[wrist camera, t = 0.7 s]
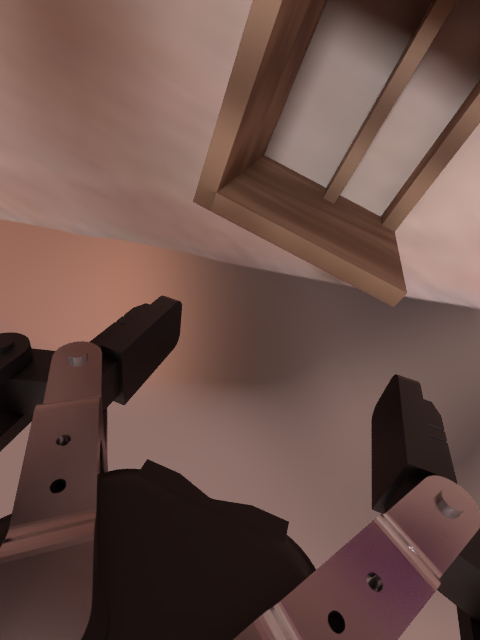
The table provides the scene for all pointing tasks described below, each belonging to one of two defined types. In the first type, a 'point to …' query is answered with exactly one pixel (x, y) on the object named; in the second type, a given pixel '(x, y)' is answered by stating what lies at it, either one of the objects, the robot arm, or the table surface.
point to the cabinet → (298, 191)
